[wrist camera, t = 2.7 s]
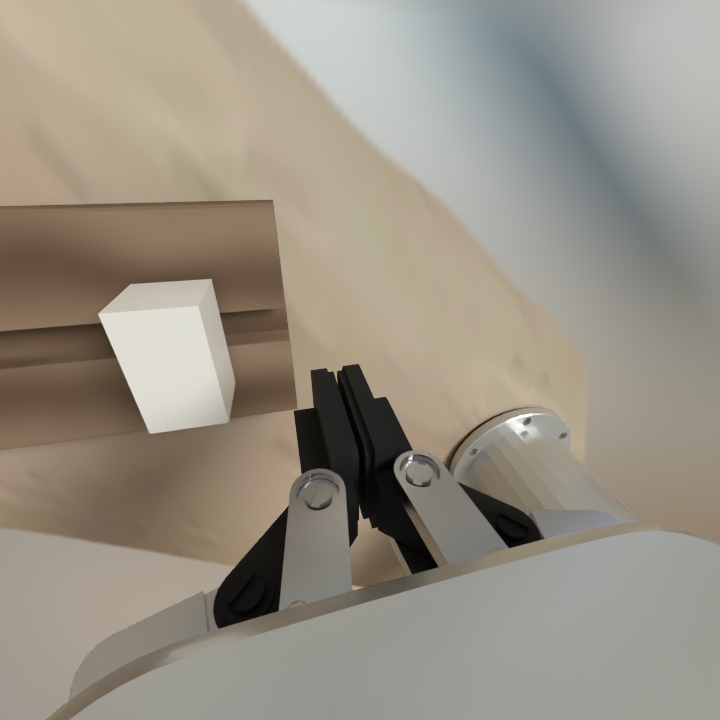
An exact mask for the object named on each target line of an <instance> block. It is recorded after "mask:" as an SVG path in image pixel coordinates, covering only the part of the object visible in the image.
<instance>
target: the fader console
mask: <svg viewBox="0 0 720 720" xmlns="http://www.w3.org/2000/svg"><path fill="white" fill-rule="evenodd" d="M202 279H212V283H213V287H214V292H215V296H216V300H217V305H218V309H219V313H220V318H221V322H222V326H223V331H224V335H225V339H226V344H227V348H228V352H229V357H230V361H231V365H232V369H233V374H234V378H235V388H234V395H233V401H232V407H231V413H230V418H235V417H242V416H250V415H257V414H264V413H271V412H278V411H286V410H293V409H297V399H296V389H295V380H294V372H293V364H292V356H291V347H290V339H289V331H288V323H287V314H286V306H285V298H284V290H283V281H282V273H281V265H280V257H279V249H278V240H277V232H276V224H275V216H274V207H273V200H249V201H208V202H166V203H124V204H83V205H41V206H0V450H5V449H12V448H19V447H27V446H34V445H41V444H48V443H55V442H63V441H70V440H77V439H84V438H91V437H99V436H106V435H113V434H120V433H127V432H134V431H142V430H148V429H147V426H146V424H145V422H144V419H143V417H142V415H141V412H140V410H139V408H138V405H137V403H136V401H135V398H134V396H133V394H132V392H131V389H130V387H129V385H128V382H127V380H126V378H125V375H124V373H123V371H122V368H121V366H120V364H119V361H118V359H117V357H116V355H115V352H114V350H113V348H112V345H111V343H110V341H109V338H108V336H107V334H106V331H105V329H104V327H103V324H102V322H101V320H100V317H99V315H98V313H99V312H101V311H102V310H103V309H104V308H105V307H106V306H107V305H108V304H109V303H110V302H112V301H113V300H114V299H115V298H116V297H117V296H118V295H119V294H120V293H121V292H123V291H124V290H125V289H126V288H127V287H128V286H129V285H130V284H140V283H156V282H171V281H187V280H202Z"/></svg>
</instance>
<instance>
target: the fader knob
mask: <svg viewBox="0 0 720 720" xmlns="http://www.w3.org/2000/svg"><path fill="white" fill-rule="evenodd" d="M98 315H99V317H100V320H101V322H102V324H103V327H104V329H105V331H106V334H107V336H108V338H109V341H110V343H111V345H112V348H113V350H114V352H115V355H116V357H117V359H118V361H119V364H120V366H121V368H122V371H123V373H124V375H125V378H126V380H127V382H128V385H129V387H130V389H131V392H132V394H133V396H134V398H135V401H136V403H137V405H138V408H139V410H140V412H141V415H142V417H143V419H144V422H145V424H146V426H147V429H148V431H149V433H150V434H153V433H160V432H167V431H174V430H181V429H188V428H195V427H202V426H210V425H217V424H224V423H229V420H230V413H231V407H232V401H233V395H234V388H235V378H234V374H233V369H232V365H231V361H230V357H229V352H228V348H227V344H226V339H225V335H224V331H223V326H222V322H221V318H220V313H219V309H218V305H217V300H216V296H215V292H214V287H213V283H212V279H202V280H187V281H171V282H156V283H140V284H130V285H129V286H128V287H127V288H126V289H125V290H124V291H123V292H121V293H120V294H119V295H118V296H117V297H116V298H115V299H114V300H113V301H112V302H110V303H109V304H108V305H107V306H106V307H105V308H104V309H103V310H102V311H101V312H99V313H98Z"/></svg>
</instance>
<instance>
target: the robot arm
mask: <svg viewBox="0 0 720 720" xmlns="http://www.w3.org/2000/svg"><path fill="white" fill-rule="evenodd" d="M311 380H312V392H313V403H314V408H310V409H303V410H297V411H294V416H295V424H296V432H297V440H298V448H299V456H300V464H301V472H302V475H300V476H299V477H298V478H297V479H296V480H295V482H294V483H293V485H292V487H291V491H290V497H289V506H288V507H287V508H286V509H285V511H284V512H283V513H282V514H281V515H280V516H279V518H278V519H277V520H276V521H275V522H274V523H273V524H272V526H271V527H270V528H269V529H268V530H267V531H266V532H265V534H264V535H263V536H262V537H261V538H260V539H259V540H258V542H257V543H256V544H255V545H254V546H253V547H252V548H251V550H250V551H249V552H248V553H247V554H246V555H245V557H244V558H243V559H242V560H241V561H240V562H239V563H238V565H237V566H236V567H235V568H234V569H233V570H232V571H231V573H230V574H229V575H228V576H227V577H226V578H225V580H224V581H223V583H222V584H221V586H220V587H219V588H217V589H216V590H213V591H211V592H209V593H207V594H205V595H204V593H203V592H200V593H198V594H196V595H194V596H192V597H190V598H188V599H186V600H184V601H182V602H179V603H177V604H175V605H173V606H171V607H169V608H167V609H165V610H163V611H161V612H159V613H157V614H155V615H153V616H151V617H149V618H146V619H144V620H143V621H140V622H138V623H136V624H134V625H132V626H130V627H128V628H126V629H124V630H122V631H120V632H118V633H115V634H113V635H111V636H110V637H108V638H107V639H105V640H104V641H102V642H101V643H99V644H98V645H97V646H96V647H95V648H94V649H93V650H92V651H91V652H90V653H89V654H88V655H87V656H86V657H85V659H84V661H83V662H82V664H81V665H80V667H79V669H78V670H77V672H76V674H75V677H74V681H73V684H72V687H71V691H70V698H69V701H68V702H67V703H66V704H65V705H63V706H62V707H60V708H59V709H58V710H57V711H56V712H54V713H53V714H52V715H51V716H50V717H49V718H47V719H46V720H720V544H718V543H717V542H715V541H713V540H711V539H708V538H706V537H704V536H702V535H699V534H696V533H692V532H689V531H685V530H682V529H678V528H674V527H667V526H660V525H654V524H643V523H642V522H641V521H640V520H639V519H638V518H637V517H636V516H635V515H634V514H633V513H632V512H631V511H630V510H629V509H628V508H627V507H626V506H625V505H624V504H623V503H622V502H621V501H620V500H619V499H618V498H617V497H616V496H615V495H614V494H612V492H611V491H610V490H609V489H608V488H607V487H605V486H604V485H603V483H602V482H601V481H599V479H597V478H596V477H595V476H594V475H593V474H592V473H591V472H590V471H589V470H588V469H587V468H586V467H585V466H584V465H583V464H582V463H581V462H580V461H579V460H578V459H577V458H576V457H575V456H574V455H573V454H572V453H571V452H570V451H569V450H568V449H569V446H570V438H571V436H570V431H569V428H568V426H567V424H566V423H565V422H564V421H563V420H562V419H561V418H560V417H559V416H558V415H556V414H555V413H553V412H552V411H549V410H546V409H543V408H524V409H518V410H514V411H511V412H507V413H505V414H502V415H500V416H498V417H495V418H494V419H492V420H490V421H488V422H487V423H485V424H483V425H482V426H481V427H479V428H478V429H477V430H475V431H474V432H473V433H472V434H471V435H470V436H469V437H468V438H467V439H466V440H465V441H464V442H463V443H462V445H461V446H460V447H459V449H458V450H457V452H456V454H455V456H454V457H453V459H452V462H451V465H450V470H449V471H448V470H447V468H446V467H445V466H444V464H443V463H442V462H441V461H440V460H439V459H438V458H437V457H436V456H434V455H432V454H430V453H428V452H425V451H419V450H412V448H411V446H410V444H409V442H408V440H407V438H406V436H405V434H404V432H403V430H402V427H401V425H400V423H399V421H398V419H397V417H396V415H395V413H394V411H393V409H392V407H391V405H390V403H389V401H388V400H387V398H386V397H381V398H375V399H374V397H373V395H372V393H371V390H370V388H369V386H368V384H367V382H366V379H365V377H364V375H363V373H362V370H361V368H360V366H359V364H356V365H348V366H343V368H342V370H341V371H337V380H338V385H337V382H336V379H335V375H334V372H328V371H327V369H326V368H325V369H317V370H311ZM359 506H360V509H361V513H362V516H363V519H367V518H369V519H370V523H371V526H372V528H376V527H378V530H379V531H381V532H383V533H384V534H386V535H388V538H389V542H390V545H391V547H392V549H393V551H394V553H395V555H396V557H397V559H398V561H399V563H400V565H401V567H402V569H403V571H404V573H405V575H406V576H405V577H401V578H398V579H394V580H390V581H387V582H383V583H379V584H376V585H372V586H368V587H365V588H361V589H358V590H354V591H352V577H351V562H350V547H351V545H352V543H353V542H354V540H355V539H356V537H357V535H358V520H359Z"/></svg>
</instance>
